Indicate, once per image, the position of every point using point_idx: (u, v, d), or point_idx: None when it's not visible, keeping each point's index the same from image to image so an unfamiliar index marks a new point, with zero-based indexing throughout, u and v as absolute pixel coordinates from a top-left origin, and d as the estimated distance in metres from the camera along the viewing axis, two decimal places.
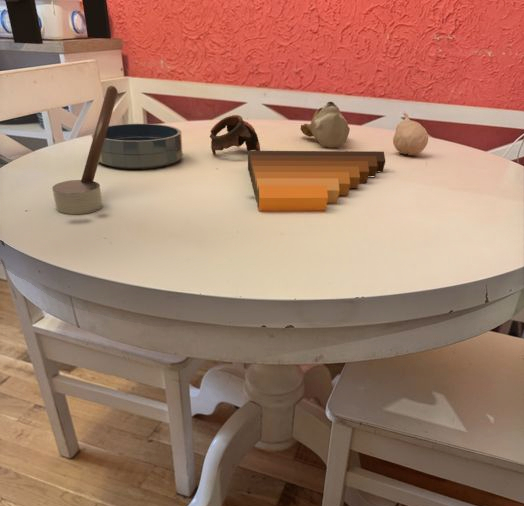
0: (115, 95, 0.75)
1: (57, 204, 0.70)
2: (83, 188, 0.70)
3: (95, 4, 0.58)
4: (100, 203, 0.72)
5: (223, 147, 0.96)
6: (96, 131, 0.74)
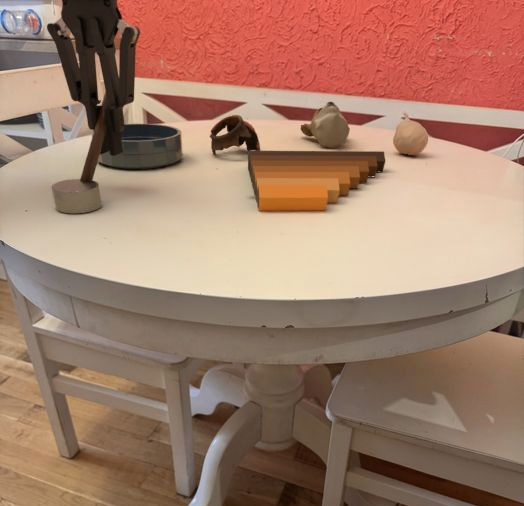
0: None
1: (56, 203, 0.70)
2: (82, 187, 0.70)
3: None
4: (99, 203, 0.72)
5: (223, 147, 0.96)
6: (95, 130, 0.74)
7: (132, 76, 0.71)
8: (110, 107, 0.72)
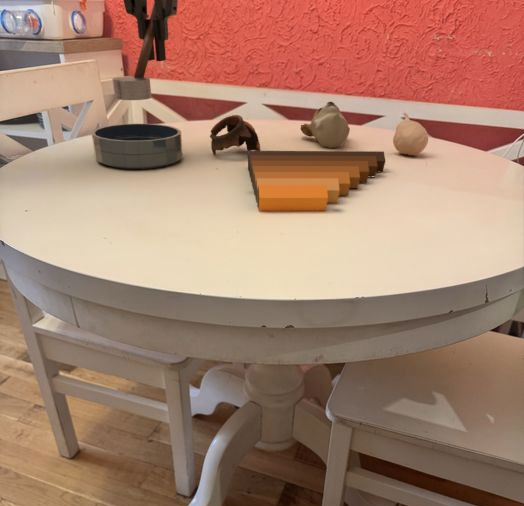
0: None
1: (116, 92, 0.87)
2: (137, 79, 0.87)
3: None
4: (150, 94, 0.89)
5: (223, 147, 0.96)
6: (145, 37, 0.91)
7: None
8: (158, 17, 0.89)
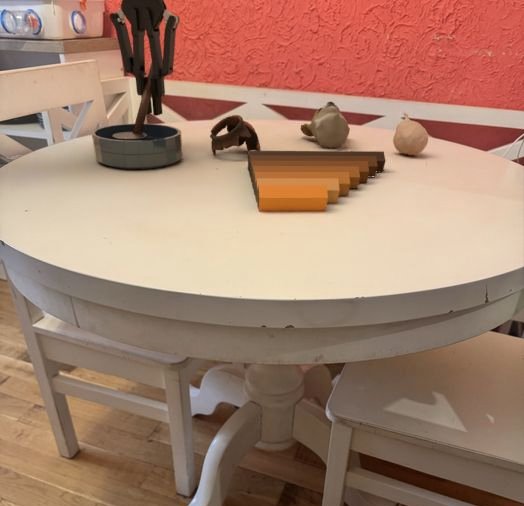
0: None
1: None
2: (135, 136, 0.93)
3: None
4: None
5: (223, 147, 0.96)
6: (143, 95, 0.97)
7: (172, 53, 0.94)
8: (155, 77, 0.95)
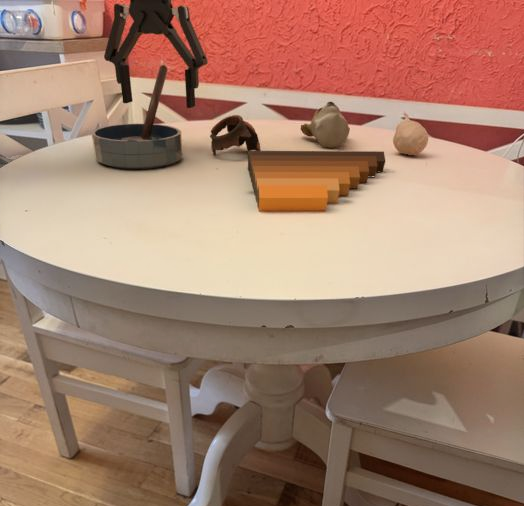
0: (166, 72, 0.98)
1: None
2: None
3: (128, 83, 0.99)
4: None
5: (223, 147, 0.96)
6: (152, 99, 0.97)
7: (198, 42, 0.92)
8: (191, 67, 0.93)
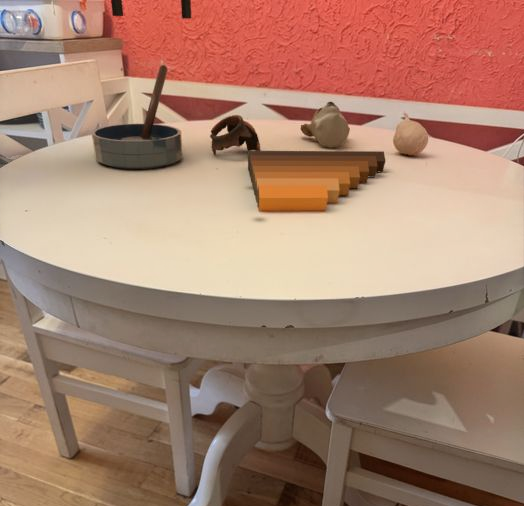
0: (166, 72, 0.98)
1: None
2: None
3: None
4: None
5: (223, 147, 0.96)
6: (152, 99, 0.97)
7: None
8: None
